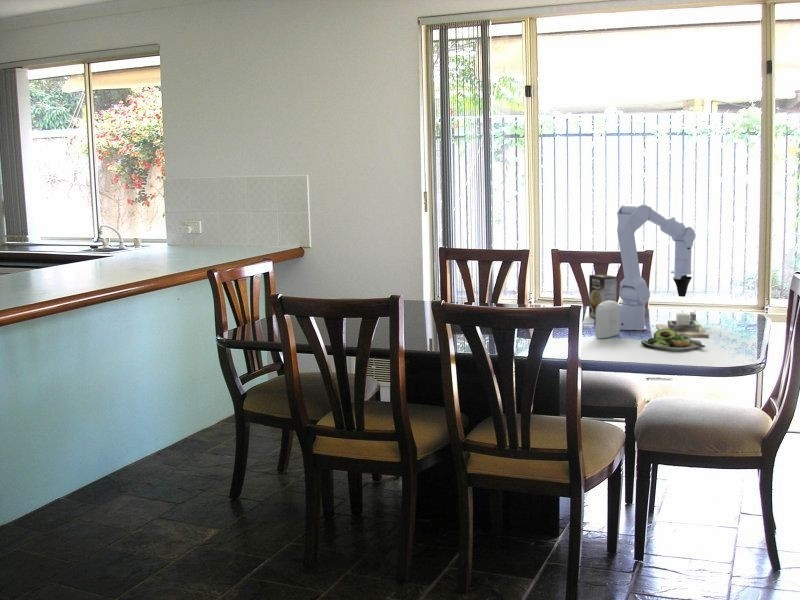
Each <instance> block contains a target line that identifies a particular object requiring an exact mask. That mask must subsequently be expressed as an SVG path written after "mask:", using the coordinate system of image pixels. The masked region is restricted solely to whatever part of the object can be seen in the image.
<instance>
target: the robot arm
mask: <svg viewBox="0 0 800 600" xmlns="http://www.w3.org/2000/svg"><path fill="white" fill-rule="evenodd" d="M616 215H617V222H618V223H617V229H616V232H617V233H616V234H617V238H618V239H617V240H618V246H619V250H620V251H619V252H620V258H621V263H622V265H621V266H622V270H623V276H624V278H623V279H622V280H621V281H620V282H619V298H620V299H621V300H622V303H618V304H619V307H620V315H619V331H621V330H622V331H647V327H646V325H645V316H646V313H645V312H646V305H647V303H648V301H649V300H650V297H651V291H650V289H649V287H648V285H647V282H646V280H645V279H644V278H643V277H642V276H641V271H640V270H641V269H640V264H639V263H640V262H639V256H638V251H637V250H638V249H637V245H636V244H637V243H636V239H635V238H636V237H635V233H636V231H637V230H639V229H640V228H641V227H642V226H643V225H644V224H645V223H647V221H649V222H650V223H652V224H655V225H657V226H658V227H659V229H660V231H661V232H662V233H664V234H665V235H668V236H669V237H671V240H672V241H673V242H674V270H671V271H670V273H671V274H673V275H674V277H673V279H672V280H673V281H674V283H675V287H676V289H677V295H678V297H681V298H682V297H686V295H687V291H688V287H689V284H690V282H691V281H692V276H690V275H691V274H692V249H693V246H694V241H695V239H696V236H697V235H696V233H695V230H694V229H693V228H692V227H691V226H686V225H684V223H683V222H680V221H677V219H676V217H674V216H669V217H664V216H663V215H661V214H660V213H658V212H657V211H655V210H654V209H653V208H652V207H651V206H648V205H646V204H644V203H643V204H642V203H641V204H636V203H633V204H632V203H624V204H622V205H621V206H620V207H619V209H618V210H617V212H616Z"/></svg>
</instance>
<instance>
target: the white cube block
mask: <svg viewBox="0 0 800 600" xmlns="http://www.w3.org/2000/svg"><path fill="white" fill-rule="evenodd" d="M675 321H676V325H690V313H688V312H680V313H679V312H676V314H675Z"/></svg>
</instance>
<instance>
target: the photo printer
mask: <svg viewBox="0 0 800 600" xmlns="http://www.w3.org/2000/svg"><path fill="white" fill-rule="evenodd" d="M619 304H620V303H618V302H617V300H616V301H610V300H608V301H604V302H602V303H600V304H599V305H598V306H597V307H596V318H595V330H594V331H595V332H594V333H595V338H597V339H600V338H602V340H603V338H604V339H607V338H608V339H609V338H610V337H615V336H618V335H620V330H619V315H620V307H619Z"/></svg>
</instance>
